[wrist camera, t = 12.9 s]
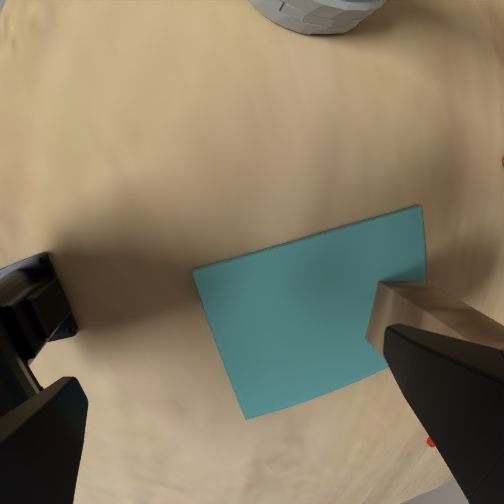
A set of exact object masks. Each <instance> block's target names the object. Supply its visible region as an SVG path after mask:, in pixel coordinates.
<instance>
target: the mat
mask: <svg viewBox="0 0 504 504" xmlns="http://www.w3.org/2000/svg"><path fill="white" fill-rule="evenodd" d="M192 274H193V277H194V280H195V283H196V286H197V289H198V292H199V295H200V298H201V301H202V304H203V307H204V310H205V313H206V316H207V319H208V322H209V324H210V327H211V330H212V333H213V336H214V339H215V341H216V344H217V347H218V350H219V352H220V355H221V358H222V360H223V363H224V366H225V368H226V371H227V374H228V376H229V379H230V381H231V384H232V387H233V389H234V392H235V394H236V397H237V399H238V402H239V404H240V407H241V409H242V412H243V414H244V416H245V419H246V420H247V419H250V418H254V417H258V416H261V415H264V414H268V413H271V412H274V411H278V410H281V409H284V408H287V407H290V406H293V405H296V404H299V403H302V402H305V401H308V400H310V399H313V398H316V397H319V396H321V395H324V394H327V393H329V392H332V391H334V390H337V389H339V388H342V387H344V386H347V385H349V384H352V383H354V382H356V381H359V380H361V379H363V378H366V377H368V376H370V375H372V374H374V373H377V372H379V371H381V370H383V369H385V368H387V367H389V366H388V364H387V362H386V360H385V359H384V358H383V357H382V356H381V355H380V354H379V353H378V352H377V351H376V350H375V349H374V347H373V346H372V345H371V344H370V343H369V342H368V341H367V340H366V339H365V335H366V331H367V327H368V323H369V319H370V315H371V311H372V306H373V302H374V298H375V293H376V288H377V284H378V281H424V282H426V262H425V242H424V228H423V217H422V207H421V206H419V205H416V206H412V207H409V208H405V209H402V210H398V211H395V212H391V213H388V214H384V215H381V216H377V217H374V218H370V219H367V220H363V221H360V222H356V223H353V224H349V225H346V226H342V227H339V228H335V229H332V230H328V231H325V232H321V233H318V234H314V235H311V236H307V237H304V238H300V239H297V240H293V241H290V242H286V243H283V244H279V245H276V246H272V247H269V248H265V249H262V250H258V251H255V252H251V253H248V254H244V255H241V256H237V257H234V258H230V259H227V260H223V261H220V262H217V263H213V264H210V265H206V266H203V267H199V268H196V269H192Z"/></svg>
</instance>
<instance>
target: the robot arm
mask: <svg viewBox="0 0 504 504" xmlns="http://www.w3.org/2000/svg"><path fill="white" fill-rule="evenodd" d="M41 258H44V261H45V262H42V260H41ZM70 327H71V328H73V330H74V331H72V330H71V329H70ZM77 332H78V326H77V324H76V322H75V320H74V317H73V315H72V313H71V308H70V306H69V303H68V301H67V299H66V296H65V294H64V291H63V289H62V287H61V284H60V282H59V279H57V277H56V274H55V272H54V269H53V266H52V264H51V261H50V258H49V256H48V255H47V254H46V253H44V252H43V253H40V254H37V255H35V256H32V257H29V258H27V259H24V260H22V261H20V262H17V263H15V264H12V265H10V266H7V267H5V268H3V269H0V504H73V501H74V494H75V488H76V482H77V476H78V470H79V465H80V460H81V455H82V450H83V444H84V435H85V427H86V419H87V411H88V399H87V397H86V395H85V393H84V391H83V389H82V387H81V385H80V383H79V381H78V380H77V379H76V378H75V377H62V378H61V379H59V380H57V381H56V382H54V383H53V384H51V385H50V386H48V387H47V388H45V389H44V388H43V387H42V386H40V384H39V383H38V381H37V379H36V378H35V376H34V374H33V373H32V371H31V369H30V367H29V366H30V364H31V363H32V361H33V360H34V359H35V357H36V356H37V355H38V353H39V352H40V351H41V349H42V348H43V347H44V345H45V344H46V343H47V342H51V341H55V340H59V339H64V338H68V337H72V336H75V335H76V334H77ZM383 355H384V358H385V360H386V362H387V364H388V366H389V368H390V370H391V372H392V374H393V376H394V378H395V380H396V382H397V384H398V386H399V388H400V390H401V392H402V394H403V395H404V397H405V399H406V400H407V402H408V404H409V405H410V407H411V408H412V410H413V411H414V413H415V414H416V416H417V418H418V419H419V421H420V422H421V424H422V425H423V427H424V428H425V430H426V432H427V433H428V435H429V436H430V438H431V440H432V441H433V443H434V444H435V446H436V448H437V449H438V451H439V453H440V454H441V456H442V458H443V459H444V461H445V462H446V464H447V466H448V467H449V469H450V471H451V472H452V474H453V476H454V478H455V479H456V481H457V483H458V484H459V486H460V487H461V490H462V491H463V493H464V495H465V497H466V498H467V499H468V502H469V504H504V350H503V349H500V350H499V349H498V348H494V347H490V346H486V345H482V344H478V343H474V342H470V341H466V340H462V339H458V338H454V337H450V336H446V335H442V334H438V333H434V332H431V331H427V330H423V329H419V328H416V327H412V326H408V325H404V324H401V323H396V324H393V325H390V326H387V327H386V328H385V332H384V343H383Z"/></svg>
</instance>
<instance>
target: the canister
mask: <svg viewBox="0 0 504 504" xmlns="http://www.w3.org/2000/svg"><path fill="white" fill-rule="evenodd" d="M248 1H249V2H250V3H251V4H252V6H253V7H254V8H255V9H257V10H258V11H259V12H260V13H261V14H262V15H264V16H265V17H267V18H268V19H270V20H271V21H273V22H274V23H277V24H279V25H281V26H283V27H285V28H287V29H290V30H293V31H296V32H299V33H303V34H309V35H310V34H311V33H312V34H333V33H339V34H342V33H345V32H348V31H349V30H351V29H352V28H354V27H355V26H357V25H358V24H359V23H360V22H361V21H362V20H363V19H365V18H366V17H368V16H369V15H371V14H372V13H373V12H374V11H376V10H377V9H378V8H380V7H381V6H382V5H383V4H384V3H385V2H386V1H387V0H248Z"/></svg>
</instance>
